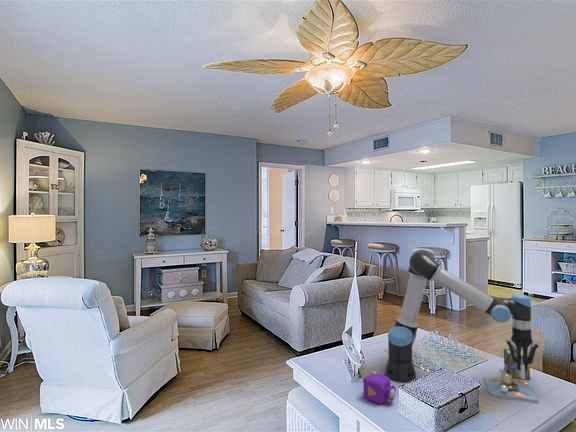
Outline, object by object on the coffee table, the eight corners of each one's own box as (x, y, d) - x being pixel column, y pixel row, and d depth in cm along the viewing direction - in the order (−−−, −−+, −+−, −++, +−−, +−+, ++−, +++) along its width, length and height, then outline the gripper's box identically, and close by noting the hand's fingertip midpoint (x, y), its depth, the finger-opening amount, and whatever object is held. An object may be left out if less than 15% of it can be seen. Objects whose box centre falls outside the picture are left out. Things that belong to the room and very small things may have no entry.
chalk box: (530, 380, 166) (530, 350, 166) (509, 377, 169) (508, 348, 169) (523, 371, 175) (523, 343, 175) (503, 369, 178) (503, 341, 178)
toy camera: (392, 409, 142) (392, 386, 142) (361, 400, 149) (361, 378, 149) (399, 397, 151) (398, 375, 151) (369, 389, 158) (369, 368, 158)
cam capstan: (491, 392, 152) (491, 378, 152) (483, 375, 168) (483, 363, 168) (532, 398, 147) (532, 384, 147) (520, 380, 163) (519, 367, 163)
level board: (491, 396, 152) (490, 392, 152) (483, 378, 168) (483, 375, 168) (538, 403, 146) (538, 399, 146) (525, 384, 162) (525, 381, 162)
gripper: (507, 328, 159) (508, 378, 159) (540, 331, 154) (541, 383, 154) (503, 324, 166) (504, 371, 166) (535, 326, 161) (535, 375, 161)
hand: (522, 377), depth 160 cm, fingers closed
